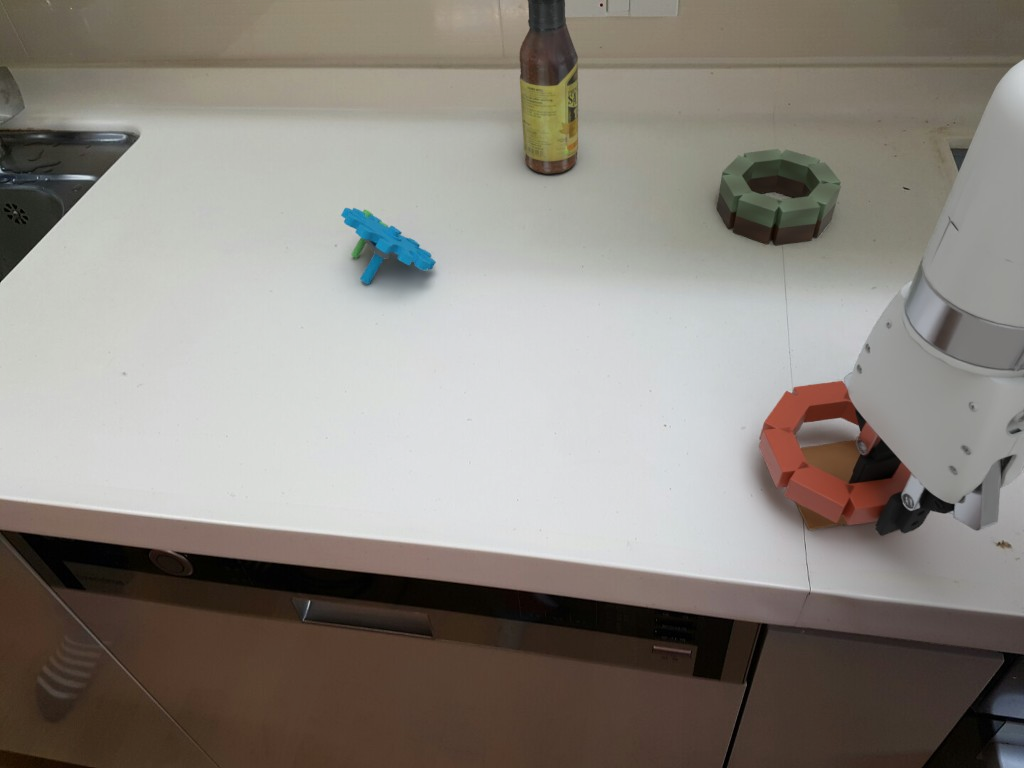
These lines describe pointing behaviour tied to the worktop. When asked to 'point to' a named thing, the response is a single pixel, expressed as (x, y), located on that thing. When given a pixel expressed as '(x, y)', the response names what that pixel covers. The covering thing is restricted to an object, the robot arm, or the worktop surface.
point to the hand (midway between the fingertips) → (881, 505)
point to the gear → (383, 243)
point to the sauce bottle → (549, 89)
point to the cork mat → (835, 462)
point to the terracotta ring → (809, 481)
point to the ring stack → (772, 216)
